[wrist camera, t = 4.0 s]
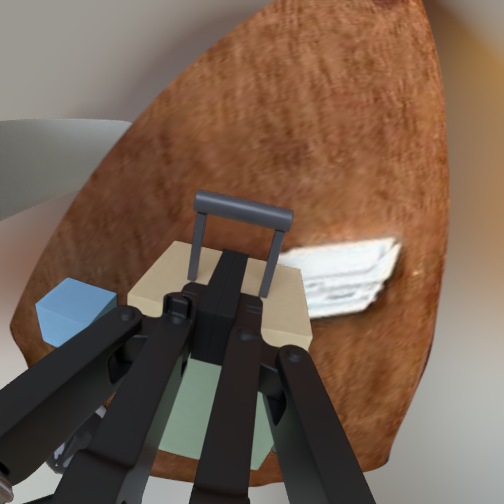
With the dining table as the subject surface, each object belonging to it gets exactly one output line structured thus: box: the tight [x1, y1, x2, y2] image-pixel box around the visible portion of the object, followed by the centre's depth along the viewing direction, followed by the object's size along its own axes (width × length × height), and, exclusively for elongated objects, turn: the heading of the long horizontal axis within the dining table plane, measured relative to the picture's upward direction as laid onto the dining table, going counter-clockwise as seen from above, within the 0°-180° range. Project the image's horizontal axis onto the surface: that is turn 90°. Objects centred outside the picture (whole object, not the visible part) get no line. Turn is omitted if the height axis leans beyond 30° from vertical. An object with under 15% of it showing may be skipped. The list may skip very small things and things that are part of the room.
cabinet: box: [142, 314, 309, 470], centre depth 25 cm, size 15×13×12 cm
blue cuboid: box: [36, 277, 117, 347], centre depth 27 cm, size 7×5×6 cm
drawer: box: [128, 190, 313, 351], centre depth 22 cm, size 20×11×10 cm, turn 168°
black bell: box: [45, 405, 107, 474], centre depth 31 cm, size 10×10×15 cm
